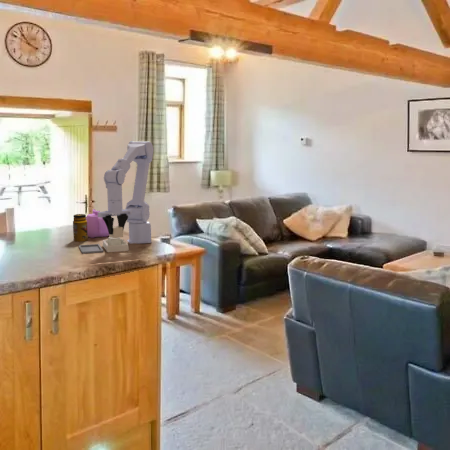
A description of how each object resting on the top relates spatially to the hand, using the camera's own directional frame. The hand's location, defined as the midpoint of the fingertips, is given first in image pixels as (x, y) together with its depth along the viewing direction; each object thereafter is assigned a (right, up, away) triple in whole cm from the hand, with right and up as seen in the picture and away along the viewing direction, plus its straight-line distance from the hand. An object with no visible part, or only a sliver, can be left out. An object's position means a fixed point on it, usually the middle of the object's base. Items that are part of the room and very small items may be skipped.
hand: (115, 233), depth 209 cm
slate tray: (-10, -7, +1) cm, 12 cm away
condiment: (-20, -4, +19) cm, 28 cm away
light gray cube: (-2, -6, +6) cm, 8 cm away
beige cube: (0, -1, 0) cm, 1 cm away
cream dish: (-1, -7, +4) cm, 8 cm away
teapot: (-16, -2, +33) cm, 37 cm away
